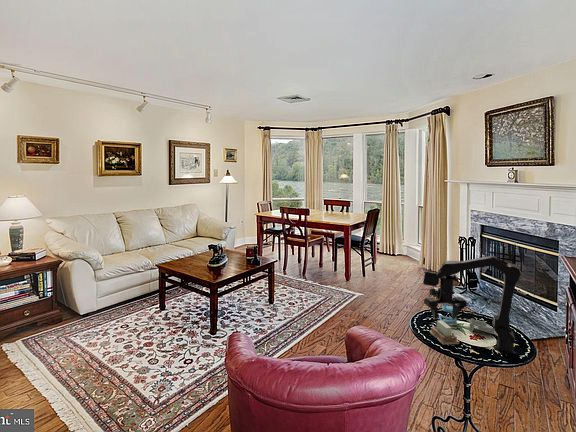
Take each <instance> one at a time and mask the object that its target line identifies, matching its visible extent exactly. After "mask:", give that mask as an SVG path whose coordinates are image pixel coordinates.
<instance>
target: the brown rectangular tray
mask: <svg viewBox="0 0 576 432" xmlns="http://www.w3.org/2000/svg"><path fill="white" fill-rule="evenodd" d="M429 333H430V334H431V335H432V336H433V337H434V338H435V339H436V338H437V339H436V340H437V341H439V343H441V344H442V345H459V344H460V341H459V340H458V337H457V336H456V335H455V333H454V332H451V336H450V337H445V336H443V335H442V334H441V333H440V332H439V331H438V330H437V326H432V327H431V329H430V330H429Z"/></svg>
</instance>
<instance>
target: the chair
mask: <svg viewBox="0 0 576 432" xmlns="http://www.w3.org/2000/svg"><path fill="white" fill-rule="evenodd" d="M441 309H442V311H443V312H447V313H450V315H452V310H453V306H452V305H449V304H441ZM438 318H439V321H440V320H442V321H443V322H444V323H446V324H447V323H448V324H451V323H452V324H453V323H458V320H457V316H456V317H455V319H452V317H450V316H449V317H448V316H445V315H438ZM443 319H445V320H443Z"/></svg>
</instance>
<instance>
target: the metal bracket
mask: <svg viewBox="0 0 576 432" xmlns="http://www.w3.org/2000/svg"><path fill="white" fill-rule="evenodd" d="M467 322H468V323H469V326H468V328H467V330H469V331H470V332H471V333H473V331H474V329H477V330H479V331H482V332H484V333H485V332H486V333H489V334H492V335H495V336H496V337H498V334H497V333H496V332H495V329H494V328H493V327H491V326H490V325H489V324H488V323H487V322H485V321H482V320H478V319H477V320H476V319H474V318H470V319H467Z"/></svg>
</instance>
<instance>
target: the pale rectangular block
mask: <svg viewBox="0 0 576 432" xmlns="http://www.w3.org/2000/svg"><path fill="white" fill-rule="evenodd" d="M443 321H444V320H443V319H442V320H440V319H439V320H437V321H436V327H437V330H438V331H439V332H440V333H441V334H442V335H443V336H445V337H450V336H451V333H452V327H451V326H449V324H447V323H444V322H443Z"/></svg>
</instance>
